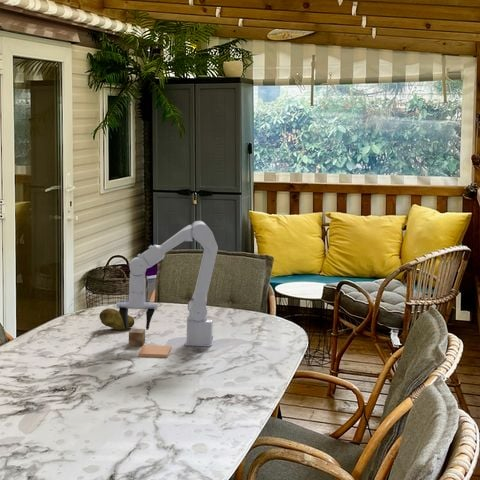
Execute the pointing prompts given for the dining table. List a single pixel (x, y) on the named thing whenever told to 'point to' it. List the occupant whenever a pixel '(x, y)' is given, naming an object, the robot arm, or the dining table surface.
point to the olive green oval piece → (114, 319)
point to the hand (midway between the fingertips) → (136, 328)
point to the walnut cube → (136, 337)
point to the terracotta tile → (155, 351)
